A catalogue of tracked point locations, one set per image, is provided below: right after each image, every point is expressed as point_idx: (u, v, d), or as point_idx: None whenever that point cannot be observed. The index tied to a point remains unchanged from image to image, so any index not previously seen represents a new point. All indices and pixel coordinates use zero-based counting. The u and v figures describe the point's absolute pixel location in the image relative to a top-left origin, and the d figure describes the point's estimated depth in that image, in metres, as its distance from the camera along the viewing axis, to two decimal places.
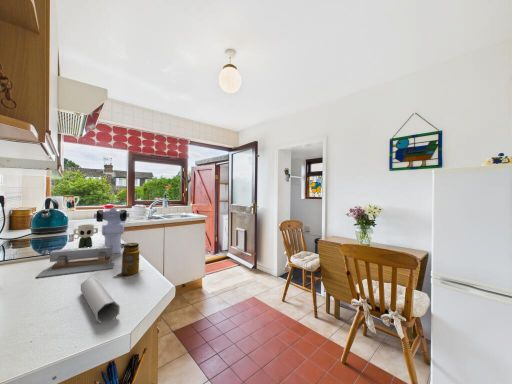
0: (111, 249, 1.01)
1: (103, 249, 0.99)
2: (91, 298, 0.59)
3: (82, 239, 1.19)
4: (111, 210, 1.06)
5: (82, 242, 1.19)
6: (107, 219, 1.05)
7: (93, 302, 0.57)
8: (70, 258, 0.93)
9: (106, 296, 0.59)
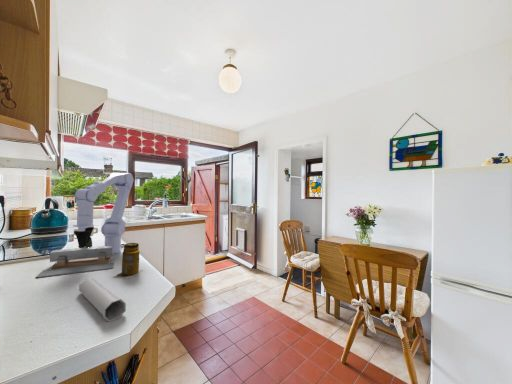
0: (111, 249, 1.01)
1: (103, 249, 0.99)
2: (95, 297, 0.60)
3: None
4: None
5: None
6: None
7: (98, 301, 0.58)
8: (70, 258, 0.93)
9: (111, 295, 0.60)
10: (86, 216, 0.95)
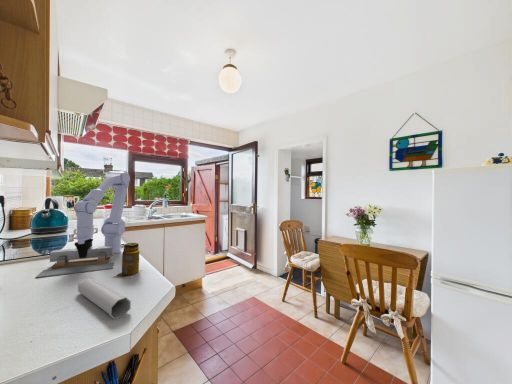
0: (111, 249, 1.01)
1: (103, 249, 0.99)
2: (98, 296, 0.60)
3: None
4: None
5: None
6: None
7: (102, 300, 0.59)
8: (70, 258, 0.93)
9: (115, 293, 0.60)
10: (86, 228, 0.95)
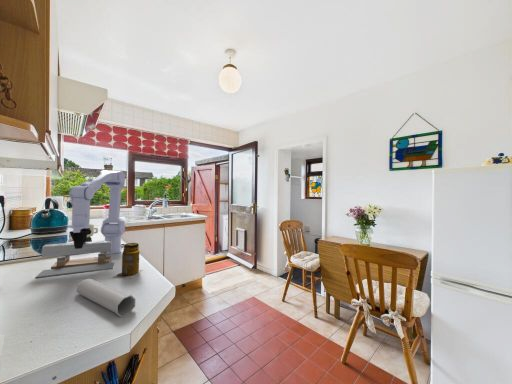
0: (110, 244, 0.92)
1: (101, 244, 0.91)
2: (101, 296, 0.61)
3: None
4: None
5: None
6: None
7: (106, 299, 0.59)
8: (64, 253, 0.85)
9: (119, 292, 0.61)
10: (82, 216, 0.87)
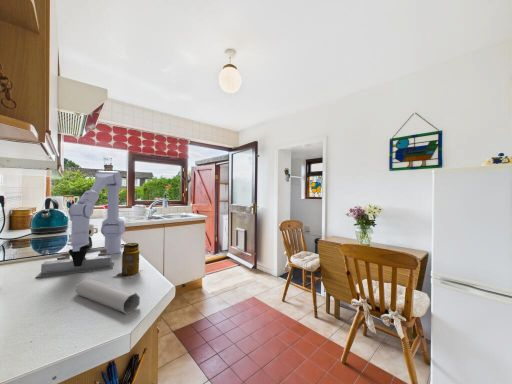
0: (109, 259, 0.92)
1: (100, 259, 0.91)
2: (104, 295, 0.61)
3: None
4: None
5: None
6: None
7: (111, 297, 0.60)
8: (64, 270, 0.85)
9: (122, 290, 0.62)
10: (81, 234, 0.87)
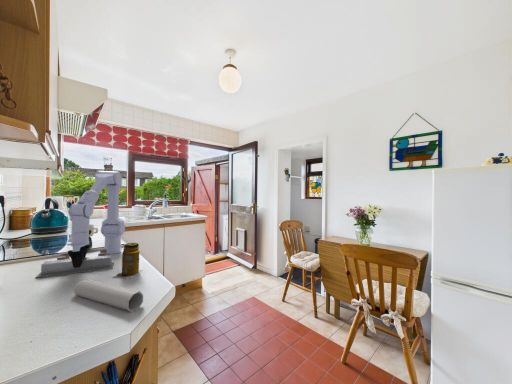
0: (109, 259, 0.92)
1: (100, 259, 0.91)
2: (107, 294, 0.62)
3: None
4: None
5: None
6: None
7: (114, 296, 0.61)
8: (64, 270, 0.85)
9: (125, 289, 0.63)
10: (81, 234, 0.87)
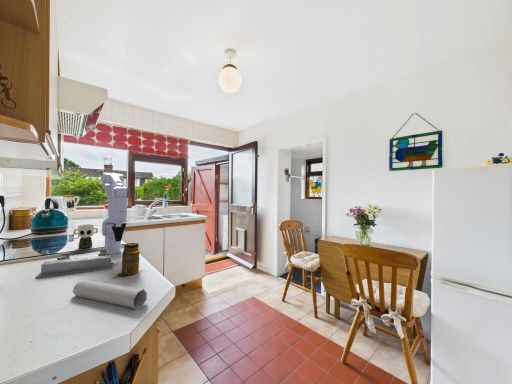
0: (109, 259, 0.92)
1: (100, 259, 0.91)
2: (110, 293, 0.62)
3: (82, 239, 1.19)
4: None
5: (82, 242, 1.19)
6: None
7: (118, 295, 0.62)
8: (64, 270, 0.85)
9: (128, 288, 0.64)
10: (121, 212, 1.01)
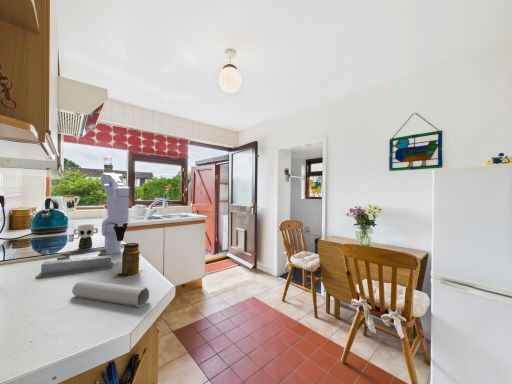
0: (109, 259, 0.92)
1: (100, 259, 0.91)
2: (113, 292, 0.63)
3: (82, 239, 1.19)
4: None
5: (82, 242, 1.19)
6: None
7: (121, 293, 0.62)
8: (64, 270, 0.85)
9: (131, 286, 0.65)
10: (123, 212, 1.01)
